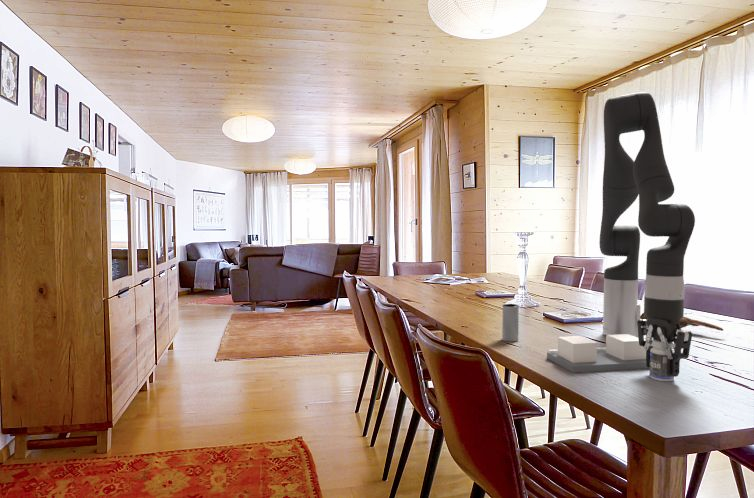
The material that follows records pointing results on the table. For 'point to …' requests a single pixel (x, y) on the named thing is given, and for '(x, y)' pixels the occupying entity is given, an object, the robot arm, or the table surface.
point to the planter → (510, 322)
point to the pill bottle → (659, 362)
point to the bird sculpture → (689, 322)
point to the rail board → (599, 354)
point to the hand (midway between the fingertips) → (661, 371)
